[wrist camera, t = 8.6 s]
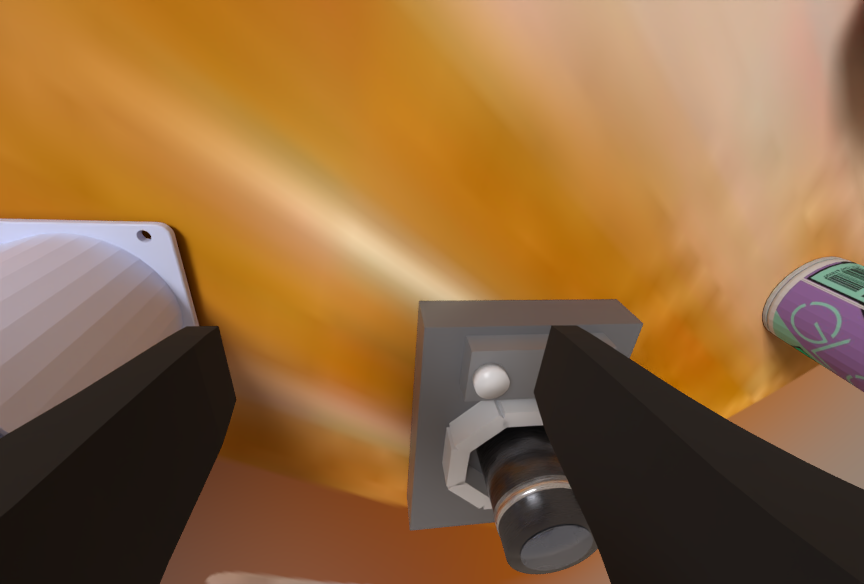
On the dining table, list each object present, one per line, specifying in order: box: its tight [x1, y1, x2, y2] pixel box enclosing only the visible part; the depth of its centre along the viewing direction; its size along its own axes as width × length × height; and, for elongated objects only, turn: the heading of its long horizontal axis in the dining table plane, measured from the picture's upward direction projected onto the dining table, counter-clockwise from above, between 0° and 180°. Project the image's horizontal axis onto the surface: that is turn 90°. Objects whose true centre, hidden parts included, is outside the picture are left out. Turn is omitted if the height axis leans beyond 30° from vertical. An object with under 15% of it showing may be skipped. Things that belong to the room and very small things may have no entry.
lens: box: [476, 425, 598, 574], centre depth 19 cm, size 4×4×6 cm
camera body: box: [407, 299, 643, 530], centre depth 22 cm, size 11×16×4 cm
